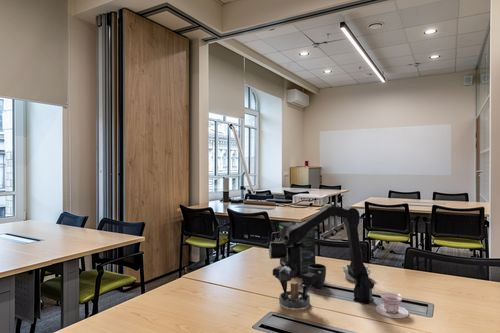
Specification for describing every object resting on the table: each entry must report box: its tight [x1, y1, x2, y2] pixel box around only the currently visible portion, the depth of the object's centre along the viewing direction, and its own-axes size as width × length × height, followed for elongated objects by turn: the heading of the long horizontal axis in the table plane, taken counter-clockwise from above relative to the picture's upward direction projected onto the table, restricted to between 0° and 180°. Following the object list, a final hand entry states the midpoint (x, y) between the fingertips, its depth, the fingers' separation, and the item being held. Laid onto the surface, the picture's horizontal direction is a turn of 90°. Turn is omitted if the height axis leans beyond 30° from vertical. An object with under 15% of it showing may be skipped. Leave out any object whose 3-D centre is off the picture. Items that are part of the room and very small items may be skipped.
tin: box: [278, 290, 311, 311], centre depth 140 cm, size 12×12×3 cm
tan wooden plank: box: [290, 281, 300, 299], centre depth 140 cm, size 2×3×8 cm, turn 142°
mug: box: [308, 263, 327, 289], centre depth 158 cm, size 8×12×10 cm
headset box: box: [278, 221, 317, 274], centre depth 187 cm, size 22×12×26 cm, turn 17°
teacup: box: [375, 291, 410, 319], centre depth 132 cm, size 12×12×6 cm
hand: (294, 295), depth 140 cm, fingers open, 9 cm apart
